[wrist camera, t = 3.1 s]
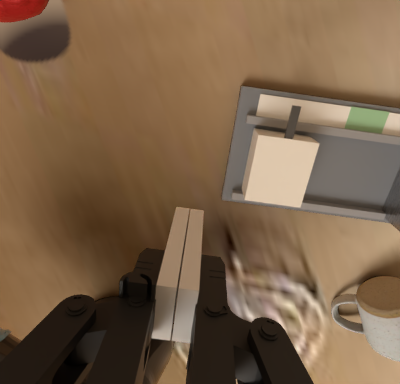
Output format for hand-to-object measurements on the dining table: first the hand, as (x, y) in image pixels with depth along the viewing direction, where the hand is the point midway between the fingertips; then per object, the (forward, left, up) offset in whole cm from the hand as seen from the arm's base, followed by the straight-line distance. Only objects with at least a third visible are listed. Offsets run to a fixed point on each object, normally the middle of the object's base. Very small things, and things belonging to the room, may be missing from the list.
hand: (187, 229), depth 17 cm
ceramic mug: (+27, -18, -19) cm, 37 cm away
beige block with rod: (+8, +2, -17) cm, 19 cm away
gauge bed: (+14, +1, -18) cm, 23 cm away
